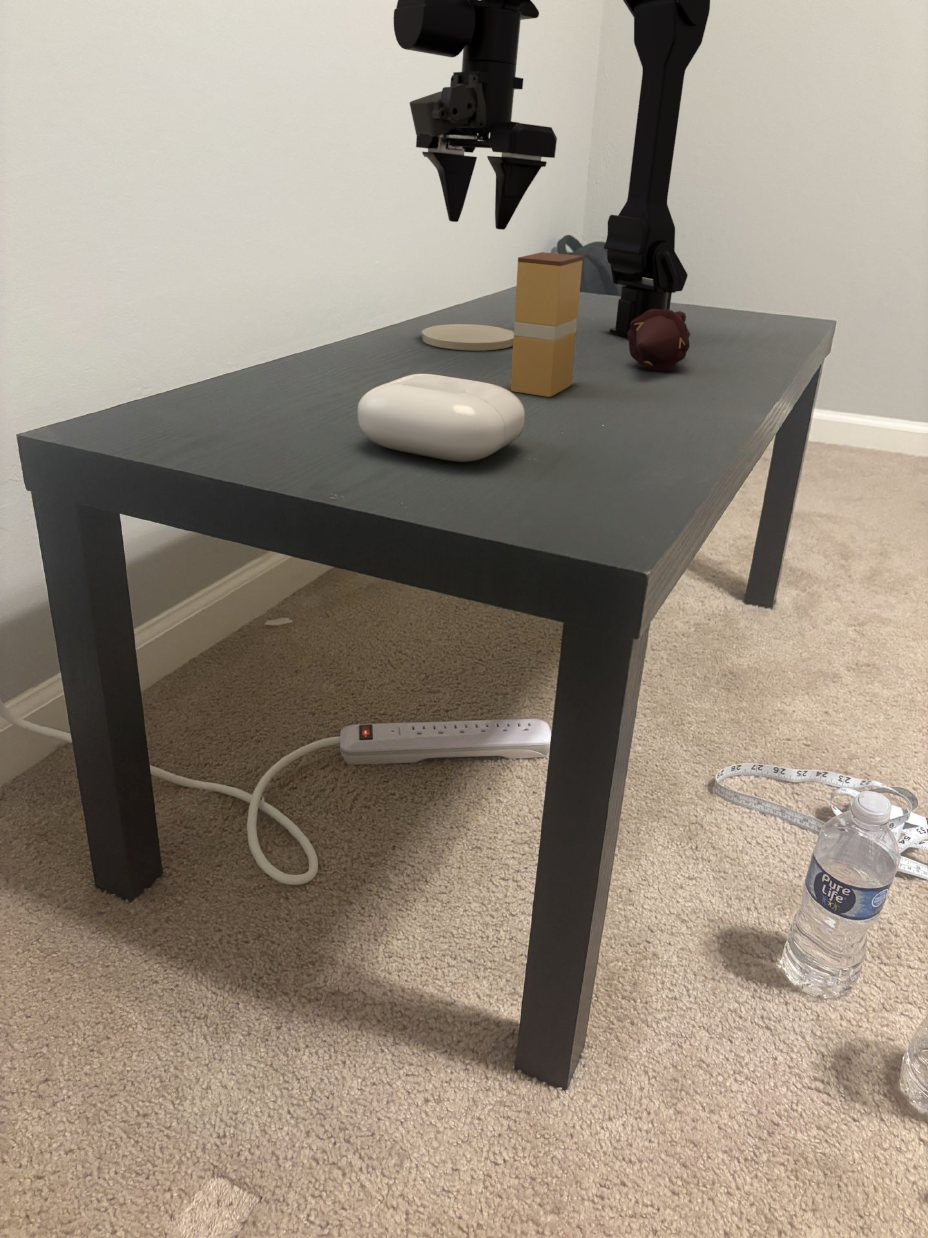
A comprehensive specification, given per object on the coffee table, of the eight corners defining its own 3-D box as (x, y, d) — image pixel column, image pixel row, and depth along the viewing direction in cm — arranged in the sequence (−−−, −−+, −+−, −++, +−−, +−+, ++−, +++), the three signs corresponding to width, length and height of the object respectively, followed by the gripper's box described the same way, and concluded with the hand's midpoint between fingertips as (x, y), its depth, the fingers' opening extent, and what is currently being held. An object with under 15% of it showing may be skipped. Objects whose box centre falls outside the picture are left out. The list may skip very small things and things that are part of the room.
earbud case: (405, 421, 83) (405, 361, 80) (535, 445, 78) (540, 382, 75) (342, 450, 75) (339, 384, 72) (482, 479, 70) (485, 409, 67)
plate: (482, 328, 123) (483, 321, 123) (534, 346, 114) (534, 337, 114) (405, 335, 118) (405, 327, 117) (453, 354, 109) (453, 345, 108)
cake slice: (533, 379, 99) (541, 251, 92) (571, 385, 97) (583, 255, 91) (510, 391, 94) (517, 257, 88) (550, 397, 92) (560, 261, 86)
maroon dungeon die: (685, 325, 95) (715, 318, 107) (622, 300, 97) (658, 295, 109) (659, 388, 98) (690, 373, 111) (598, 362, 100) (636, 350, 113)
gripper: (378, 56, 97) (373, 214, 104) (477, 48, 84) (464, 230, 91) (463, 70, 103) (453, 219, 110) (568, 65, 90) (549, 234, 97)
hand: (476, 225), depth 102 cm, fingers open, 9 cm apart
